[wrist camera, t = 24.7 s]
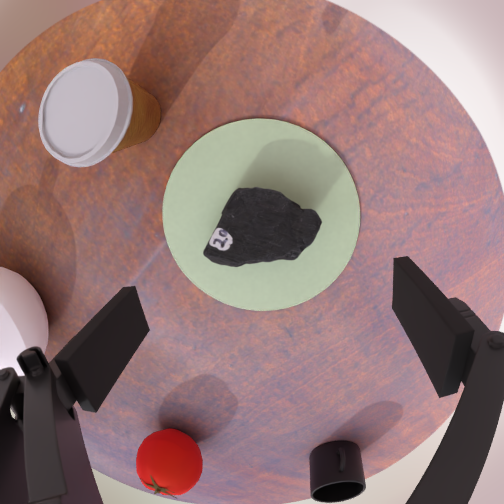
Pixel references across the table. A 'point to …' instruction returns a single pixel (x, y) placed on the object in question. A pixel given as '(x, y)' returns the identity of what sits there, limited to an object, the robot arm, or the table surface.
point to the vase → (20, 319)
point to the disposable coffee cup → (95, 113)
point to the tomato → (169, 462)
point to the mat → (268, 177)
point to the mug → (336, 472)
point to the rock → (261, 229)
